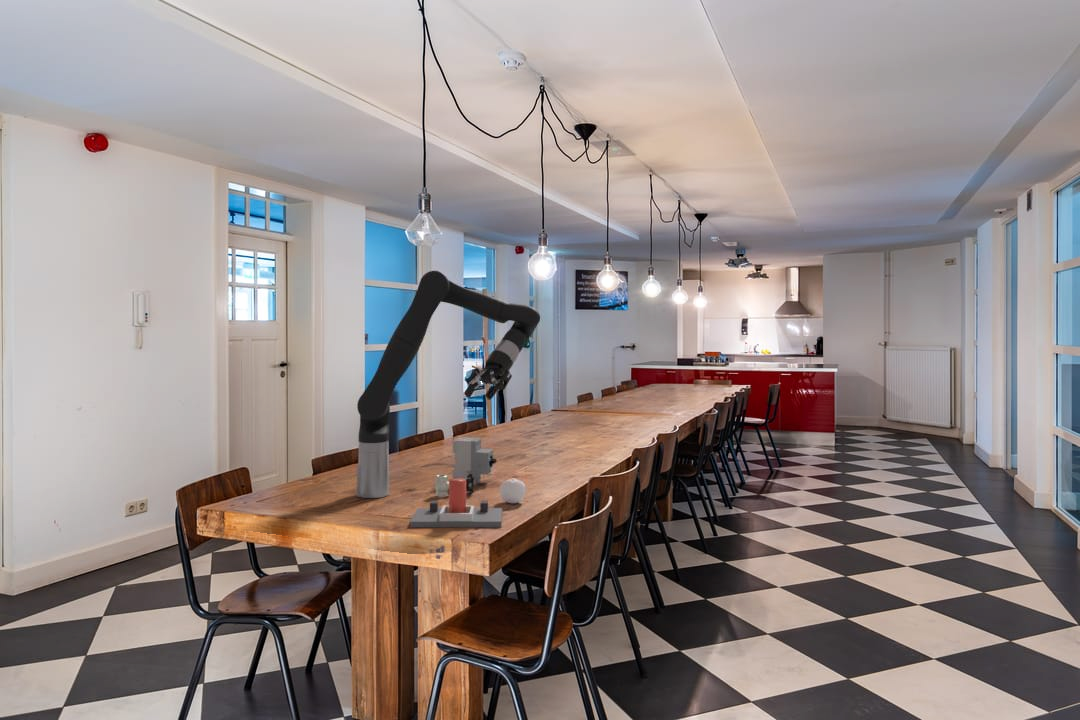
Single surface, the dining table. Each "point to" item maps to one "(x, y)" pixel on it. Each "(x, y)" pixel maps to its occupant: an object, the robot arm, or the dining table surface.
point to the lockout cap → (457, 495)
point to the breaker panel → (457, 516)
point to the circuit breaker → (471, 459)
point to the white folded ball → (512, 490)
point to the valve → (443, 485)
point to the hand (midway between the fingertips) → (477, 396)
